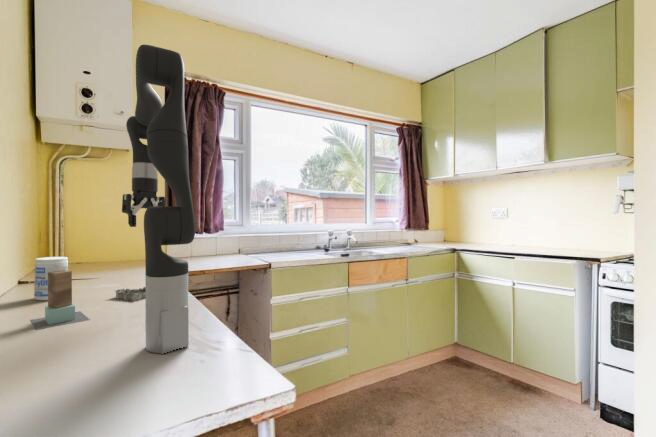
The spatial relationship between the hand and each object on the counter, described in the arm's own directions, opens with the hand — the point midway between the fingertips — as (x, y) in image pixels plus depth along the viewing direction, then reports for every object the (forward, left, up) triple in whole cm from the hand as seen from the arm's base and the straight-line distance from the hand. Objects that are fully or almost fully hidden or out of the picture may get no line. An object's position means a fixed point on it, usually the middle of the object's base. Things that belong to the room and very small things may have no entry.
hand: (144, 226), depth 112 cm
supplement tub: (+38, +19, -27) cm, 50 cm away
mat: (+3, +22, -27) cm, 35 cm away
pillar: (+3, +22, -23) cm, 32 cm away
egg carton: (+17, -1, -27) cm, 32 cm away
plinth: (+3, +22, -27) cm, 35 cm away
